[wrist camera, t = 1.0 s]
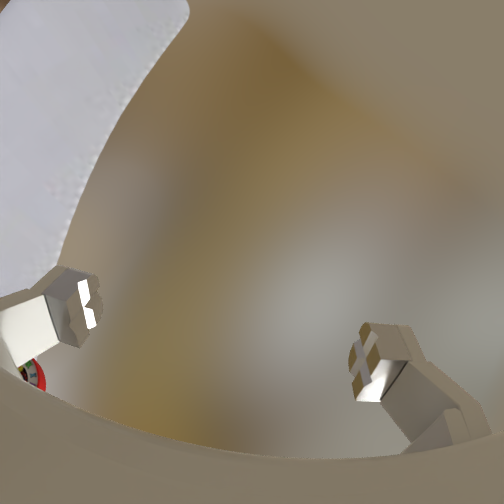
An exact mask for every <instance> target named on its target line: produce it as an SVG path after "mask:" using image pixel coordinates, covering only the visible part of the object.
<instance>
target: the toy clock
mask: <svg viewBox="0 0 504 504" xmlns="http://www.w3.org/2000/svg"><path fill="white" fill-rule="evenodd" d="M18 370H19V372H20V373H21V375H22V377H23V380H24V381H26V382H28V383H30V384H31V385H33V386H35V387H37V388H39V389H41V390H43V391H45V390H46V380H45V375H44V373H43V370H42V368H41V367H40V365H39V364H38V363H37V362H36V360H35V359H34V358H32V359H31V360H29V361H27V362H26V363H24V364H23V365H21V366H19V367H18Z"/></svg>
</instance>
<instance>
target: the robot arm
mask: <svg viewBox="0 0 504 504" xmlns="http://www.w3.org/2000/svg"><path fill="white" fill-rule="evenodd" d="M99 287H100V286H99V280H98V277H97V276H96V275H95V274H91V273H88V272H84V271H81V270H77V269H74V268H69V267H65V266H62V265H56V266H55V267H54V268H53V269H52V270H50V271H49V272H48V273H47V274H46V275H45V276H44V277H43V278H41V279H40V280H39V281H38V282H37V283H36V284H35V285H34V286H33V287H32V288H31V289H30V290H29V289H24V290H21V291H18V292H15V293H12V294H10V295H7V296H4V297H1V298H0V504H504V431H501V432H498V433H495V434H492V432H491V429H490V427H489V425H488V422H487V419H486V417H485V414H484V412H483V409H482V407H481V405H480V403H479V402H478V401H477V400H475V399H474V398H473V397H472V396H471V395H470V394H468V393H467V392H466V391H465V390H464V389H463V388H461V387H460V386H459V385H458V384H457V383H455V382H454V381H453V380H452V379H451V378H450V377H448V376H447V375H446V374H445V373H443V372H442V371H441V370H440V369H438V367H436V366H435V365H434V364H433V363H432V362H427V361H426V359H425V357H424V355H423V353H422V350H421V348H420V346H419V343H418V341H417V339H416V337H415V335H414V333H413V331H412V329H411V327H409V326H408V325H389V324H378V323H369V322H365V323H364V324H363V325H362V326H361V329H360V331H359V335H360V339H359V340H357V341H356V342H354V343H353V346H352V348H351V350H350V354H349V360H348V364H349V365H348V366H349V372H350V373H351V374H352V375H353V376H354V377H355V379H354V381H353V382H352V387H353V393H354V398H355V401H380V404H381V405H382V406H383V408H384V409H385V410H386V411H387V413H388V414H389V415H390V416H391V418H392V419H393V420H394V422H395V423H396V424H397V426H398V427H399V428H400V429H401V431H402V432H403V433H404V435H405V436H406V437H407V438H408V440H409V441H410V442H411V444H410V445H409V446H408V447H407V448H406V449H405V450H404V451H402V452H401V454H398V455H390V456H380V457H367V458H345V459H308V458H288V457H287V458H286V457H274V456H264V455H255V454H246V453H239V452H233V451H226V450H220V449H214V448H209V447H204V446H199V445H194V444H190V443H185V442H181V441H177V440H173V439H169V438H165V437H161V436H158V435H155V434H151V433H148V432H144V431H141V430H138V429H134V428H132V427H129V426H125V425H123V424H120V423H117V422H114V421H111V420H108V419H106V418H103V417H101V416H98V415H95V414H93V413H91V412H88V411H86V410H83V409H81V408H79V407H76V406H74V405H72V404H70V403H67V402H65V401H63V400H60V399H59V398H57V397H55V396H52V395H51V394H49V393H47V392H45V391H43V390H41V389H39V388H37V387H35V386H33V385H31V384H30V383H28V382H26V381H24V380H23V377H22V375H21V373H20V372H19V370H18V367H19V366H21V365H23V364H24V363H26V362H27V361H29V360H31V359H32V358H34V357H36V356H37V355H39V354H41V353H42V352H44V351H46V350H47V349H49V348H51V347H52V346H54V345H56V344H57V343H59V341H60V342H63V343H66V344H69V345H71V346H74V347H78V348H80V347H81V346H82V345H83V343H84V342H85V340H86V339H87V338H88V336H89V329H90V328H92V327H94V326H96V324H97V323H98V322H99V320H100V318H101V314H102V311H103V303H102V298H101V296H100V295H99V294H98V292H97V290H98V288H99Z"/></svg>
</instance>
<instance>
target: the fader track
mask: <svg viewBox="0 0 504 504" xmlns="http://www.w3.org/2000/svg"><path fill="white" fill-rule="evenodd" d="M9 1H10V0H0V13H1V11H2V10H3V9H4V8H5V6H6V5H7V4H8V3H9Z"/></svg>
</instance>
